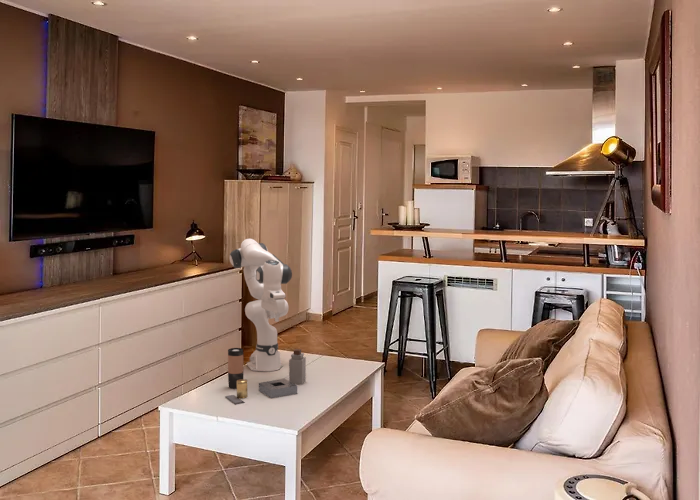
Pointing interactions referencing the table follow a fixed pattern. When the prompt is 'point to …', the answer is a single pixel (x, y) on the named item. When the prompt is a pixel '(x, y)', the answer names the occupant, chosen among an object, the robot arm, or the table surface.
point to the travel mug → (235, 366)
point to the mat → (234, 399)
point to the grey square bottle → (297, 367)
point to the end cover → (242, 389)
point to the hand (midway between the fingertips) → (272, 319)
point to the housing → (278, 388)
